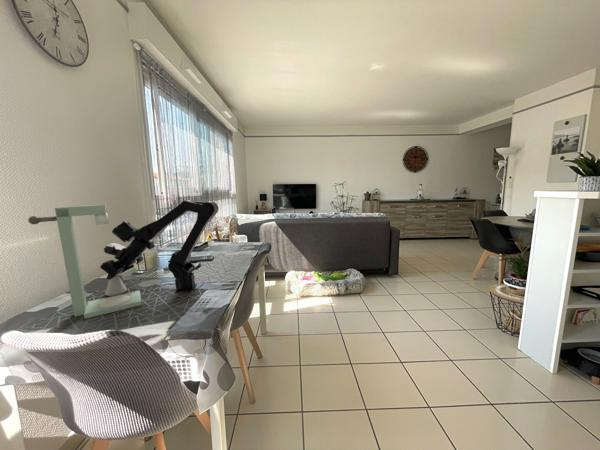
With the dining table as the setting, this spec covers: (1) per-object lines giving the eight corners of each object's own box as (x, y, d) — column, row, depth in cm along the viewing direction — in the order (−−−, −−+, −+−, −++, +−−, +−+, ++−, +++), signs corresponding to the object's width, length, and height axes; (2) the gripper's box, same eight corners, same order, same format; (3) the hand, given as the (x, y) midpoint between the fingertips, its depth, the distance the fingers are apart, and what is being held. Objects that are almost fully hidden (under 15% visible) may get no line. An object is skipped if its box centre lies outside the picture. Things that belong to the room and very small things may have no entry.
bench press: (140, 294, 102) (127, 202, 97) (141, 304, 92) (127, 204, 87) (53, 313, 88) (32, 208, 83) (43, 328, 78) (19, 210, 73)
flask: (116, 297, 100) (112, 272, 99) (100, 296, 102) (96, 272, 100) (131, 289, 107) (128, 266, 106) (117, 288, 109) (113, 266, 107)
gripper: (132, 232, 110) (109, 258, 111) (101, 241, 92) (74, 272, 93) (153, 249, 112) (130, 274, 113) (127, 261, 93) (100, 291, 94)
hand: (110, 277), depth 103 cm, fingers closed on flask, 3 cm apart
